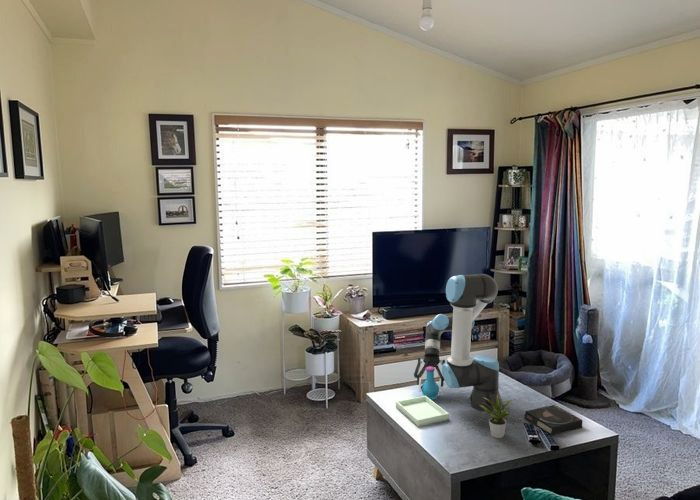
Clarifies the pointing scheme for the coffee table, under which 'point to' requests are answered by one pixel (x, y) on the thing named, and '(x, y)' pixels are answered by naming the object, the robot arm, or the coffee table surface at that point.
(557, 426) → the dark brown book
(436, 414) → the parts tray
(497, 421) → the house plant
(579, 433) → the coffee table surface
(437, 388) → the perfume bottle
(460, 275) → the robot arm
